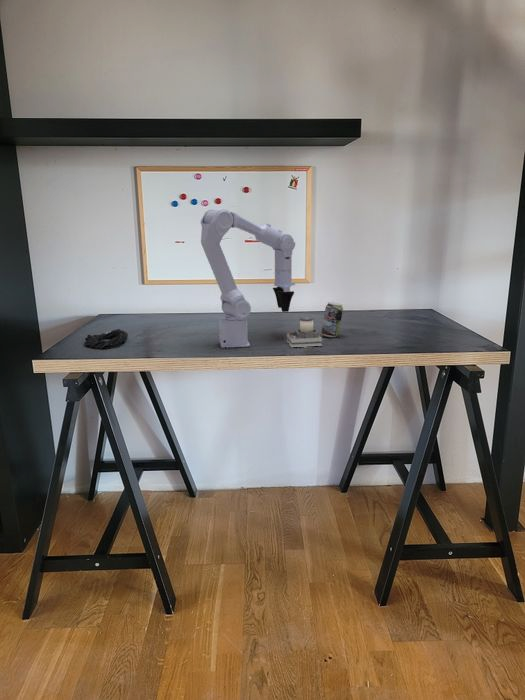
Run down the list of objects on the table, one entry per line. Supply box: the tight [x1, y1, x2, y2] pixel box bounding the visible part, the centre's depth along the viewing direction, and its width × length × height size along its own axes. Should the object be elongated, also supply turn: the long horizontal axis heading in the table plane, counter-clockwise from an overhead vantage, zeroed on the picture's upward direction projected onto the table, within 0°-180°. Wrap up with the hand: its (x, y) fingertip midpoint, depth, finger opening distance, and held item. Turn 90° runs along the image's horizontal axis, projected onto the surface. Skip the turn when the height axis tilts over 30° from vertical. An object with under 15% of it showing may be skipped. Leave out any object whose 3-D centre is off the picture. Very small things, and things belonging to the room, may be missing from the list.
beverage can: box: [321, 301, 344, 338], centre depth 180 cm, size 6×7×12 cm
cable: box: [84, 328, 129, 350], centre depth 175 cm, size 17×14×4 cm
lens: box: [299, 315, 315, 333], centre depth 170 cm, size 5×5×6 cm
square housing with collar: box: [286, 328, 323, 348], centre depth 170 cm, size 10×8×4 cm
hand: (283, 309), depth 178 cm, fingers open, 7 cm apart
